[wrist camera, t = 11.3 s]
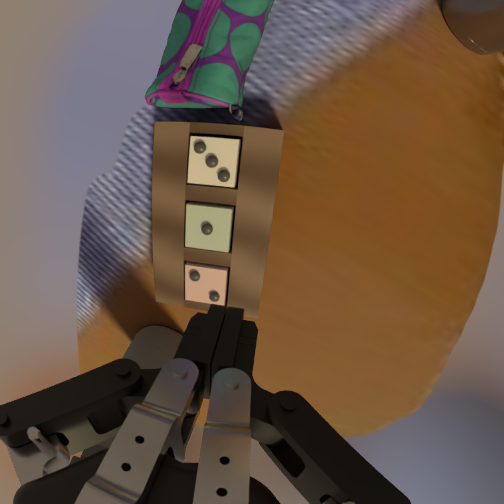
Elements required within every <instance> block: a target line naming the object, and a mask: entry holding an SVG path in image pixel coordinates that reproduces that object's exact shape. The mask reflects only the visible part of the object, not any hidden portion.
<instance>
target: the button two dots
mask: <svg viewBox="0 0 504 504" xmlns="http://www.w3.org/2000/svg"><path fill="white" fill-rule="evenodd" d="M229 270H230V267H227V266H220V265H212V264H205V263H198V262H191V261H187V263H186V264H185V300H190V301H196V302H203V303H209V304H218V305H225V301H226V297H227V294H228V282H229Z"/></svg>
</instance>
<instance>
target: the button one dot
mask: <svg viewBox="0 0 504 504" xmlns="http://www.w3.org/2000/svg"><path fill="white" fill-rule="evenodd" d="M234 214H235V205H226V204H218V203H209V202H200V201H190V202H189V203H187V204H186V235H185V247H192V248H199V249H206V250H214V251H221V252H229V249H230V246H231V244H232V235H233V225H234Z"/></svg>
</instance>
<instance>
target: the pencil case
mask: <svg viewBox="0 0 504 504" xmlns="http://www.w3.org/2000/svg"><path fill="white" fill-rule="evenodd" d="M273 2H274V0H182V2H181V4H180V6H179V8H178V11H177V13H176V16H175V18H174V21H173V24H172V29H171V32H170V34H169V37H168V42H167V46H166V48H165V50H164V53H163V57H162V61H161V65H160V68H159V71H158V74H157V78H156V79H155V81H154V82H153V83H152V85H151V86H150V87H149V88H148V90H147V92H146V94H145V99H146V102H147V104H149V105H155V106H158V107H168V108H223V107H229V112H230V113H231V114H232V116H233V117H234V118H235V119H237V120H238V121H241V120H242V116H243V111H242V110H241V109H240V108H241V106H242V102H243V88H244V84H245V76H246V74H247V72H248V69H249V67H250V65H251V62H252V59H253V57H254V54H255V52H256V50H257V48H258V45H259V42H260V39H261V37H262V34H263V31H264V28H265V25H266V22H267V19H268V15H269V12H270V10H271V8H272V5H273ZM232 109H233V110H234V112H232Z"/></svg>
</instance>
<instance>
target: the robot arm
mask: <svg viewBox="0 0 504 504" xmlns="http://www.w3.org/2000/svg"><path fill="white" fill-rule="evenodd" d="M442 11H443V15H444V18H445V20H446V22H447V24H448V26H449V28H450V29H451V31H452V32H453V33H454V35H455V36H456V37H457V38H458V40H459V41H460V42H461V43H462V44H463V45H465V46H466V47H467V48H468V49H470V50H471V51H473V52H475V53H478V54H490V53H495V52H500V51H504V0H443V1H442ZM243 318H244V309H243V308H236V307H230V306H228V307H227V306H224V305H218V304H211V305H210V308H209V310H208V313H207V314H204V313H199V312H198V313H197V314H196V315H194V316H193V317H192V318H191V319H190V321H189V323H188V326H187V328H186V330H185V333H184V335H183V337H182V340H181V342H180V344H179V347H178V349H177V351H176V354H175V356H174V358H173V359H172V360H170V361H168V362H166V363H165V364H164V366H163V367H162V368H157V369H140V366H139V365H138V364H137V363H136V362H135V361H133V360H131V359H125V358H123V359H117V360H115V361H112V362H110V363H108V364H105V365H103V366H100V367H98V368H96V369H93V370H91V371H89V372H86V373H84V374H81V375H79V376H76V377H74V378H71V379H69V380H67V381H64V382H62V383H59V384H56V385H54V386H51V387H49V388H47V389H44V390H41V391H38V392H36V393H33V394H31V395H28V396H25V397H23V398H20V399H17V400H14V401H12V402H9V403H6V404H3V405H0V439H1V440H2V441H3V442H4V443H5V445H6V446H7V448H8V451H9V454H10V457H11V460H12V463H13V465H14V468H15V471H16V473H17V476H18V478H19V481H20V483H21V485H22V486H21V487H20V488H19V489H18V491H17V492H16V494H15V496H14V500H13V504H280V503H279V501H278V500H277V499H276V497H275V496H274V495H273V493H272V492H271V491H270V490H269V489H268V488H267V487H266V486H265V485H263V484H262V483H261V482H259V481H258V480H256V479H255V478H253V477H250V451H251V450H250V449H251V438H253V439H255V440H257V441H259V444H260V445H261V447H262V448H263V449H264V451H265V452H266V453H267V454H268V456H269V457H270V458H271V459H272V461H273V462H274V463H275V464H276V465H277V467H278V468H279V469H280V470H281V471H282V473H283V474H284V475H285V476H286V477H287V478H288V480H289V481H290V482H291V483H292V484H293V485H294V487H295V488H296V489H297V490H298V491H299V492H300V493H301V494H302V495H303V496H304V498H305V499H306V500H307V501H308V502H309V503H310V504H411V502H410V500H409V499H408V498H407V497H406V496H405V495H404V494H403V493H402V492H401V491H399V490H398V489H397V488H396V487H395V486H394V485H393V484H392V483H390V482H389V481H388V480H387V479H386V478H385V477H384V476H383V475H381V474H380V473H379V472H378V471H377V470H376V469H375V468H374V467H373V466H372V465H371V464H370V463H368V462H367V461H366V460H365V459H364V458H363V457H362V456H361V455H360V454H359V453H358V452H357V451H356V450H355V449H354V448H353V447H352V446H350V444H349V443H348V442H347V441H346V440H344V439H343V437H341V436H340V435H339V434H338V433H337V432H336V431H335V430H334V429H333V428H332V427H331V426H330V425H329V423H328V422H327V421H326V420H325V419H324V418H323V417H322V416H321V415H320V414H319V413H318V412H317V411H316V410H315V409H314V408H313V407H312V406H311V405H310V404H309V403H308V402H307V401H306V400H305V399H304V398H303V397H302V396H301V395H300V394H298V393H296V392H293V391H280V392H277V393H275V394H273V393H271V392H268V391H266V390H264V389H262V388H260V387H259V386H258V385H257V384H256V383H255V381H254V379H253V376H252V371H253V364H254V356H255V349H256V341H257V334H258V329H257V327H256V324H255V322H253V321H247V320H243ZM203 398H206V399H210V401H209V408H208V414H207V420H206V423H205V425H204V431H203V437H202V444H201V451H200V457H199V463H184V459H185V452H186V448H187V445H188V442H189V440H190V437H191V434H192V432H193V429H194V427H195V424H196V421H197V419H198V416H199V413H200V408H201V404H202V401H203ZM115 435H116V437H115V439H114V441H113V442H112V444H111V446H110V447H109V448H106V449H103V450H100V451H98V452H96V453H94V454H92V455H90V456H88V457H86V458H84V459H81V460H79V461H77V462H75V463H73V464H71V465H69V461H70V456H71V455H73V454H75V453H78V452H80V451H83V450H85V449H87V448H89V447H92V446H94V445H96V444H98V443H101V442H103V441H105V440H107V439H109V438H111V437H113V436H115Z"/></svg>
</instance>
